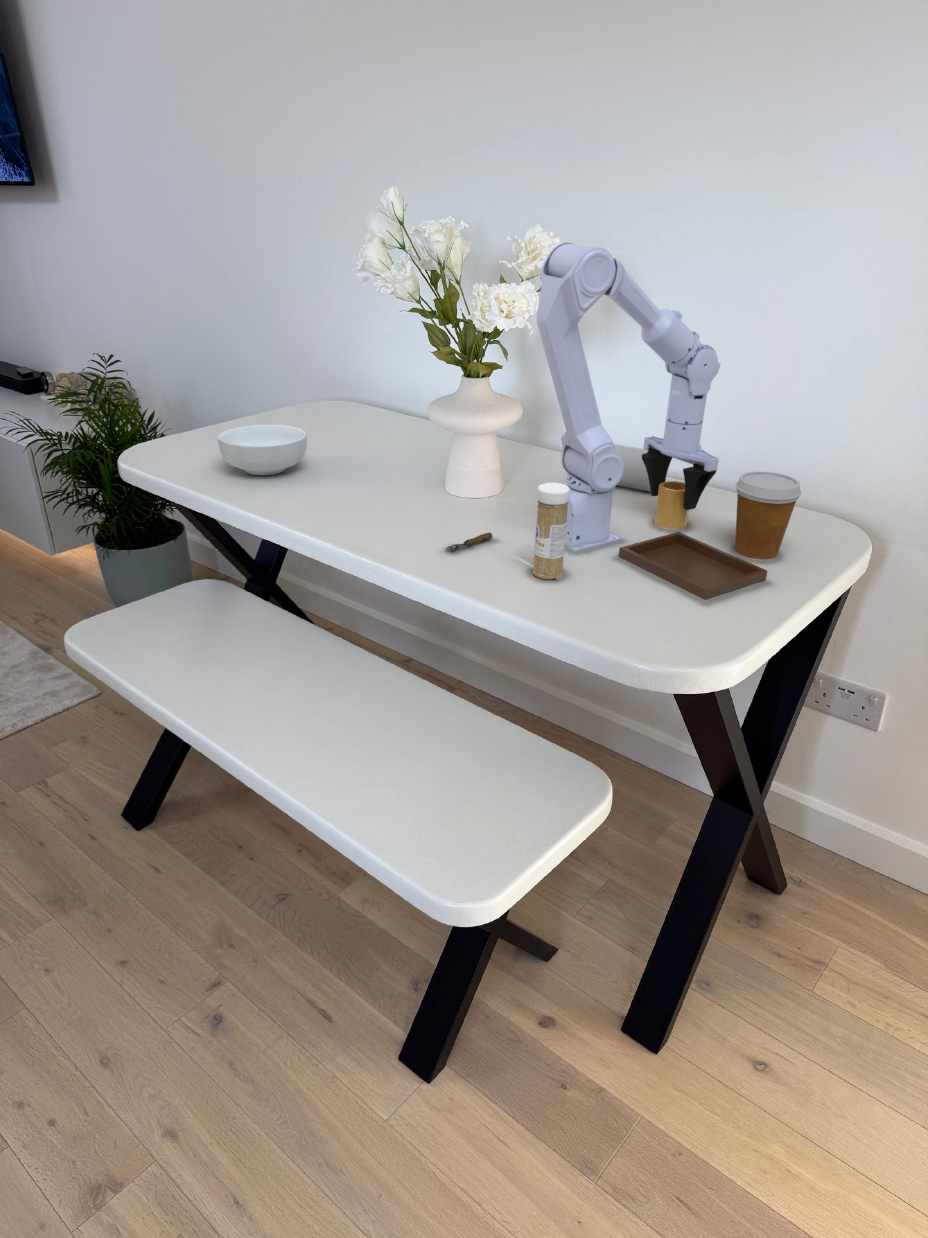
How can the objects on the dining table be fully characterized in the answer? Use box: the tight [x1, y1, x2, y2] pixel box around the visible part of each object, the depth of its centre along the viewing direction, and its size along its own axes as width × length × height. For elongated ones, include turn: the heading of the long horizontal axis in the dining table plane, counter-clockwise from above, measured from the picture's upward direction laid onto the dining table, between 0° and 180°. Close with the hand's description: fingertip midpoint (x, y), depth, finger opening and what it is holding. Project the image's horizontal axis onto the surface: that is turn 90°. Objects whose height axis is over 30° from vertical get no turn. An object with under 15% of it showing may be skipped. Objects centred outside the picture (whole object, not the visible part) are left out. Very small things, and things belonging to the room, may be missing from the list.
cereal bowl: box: [217, 424, 308, 476], centre depth 165 cm, size 17×17×7 cm
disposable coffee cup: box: [734, 471, 802, 561], centre depth 130 cm, size 10×10×12 cm
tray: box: [618, 531, 768, 601], centre depth 127 cm, size 13×18×2 cm
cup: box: [653, 480, 690, 530], centre depth 142 cm, size 5×5×7 cm
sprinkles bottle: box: [532, 482, 570, 580], centre depth 122 cm, size 5×5×14 cm
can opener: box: [445, 532, 493, 552], centre depth 134 cm, size 9×2×1 cm, turn 125°
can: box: [614, 443, 651, 493], centre depth 160 cm, size 8×8×12 cm
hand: (672, 501), depth 141 cm, fingers open, 7 cm apart
